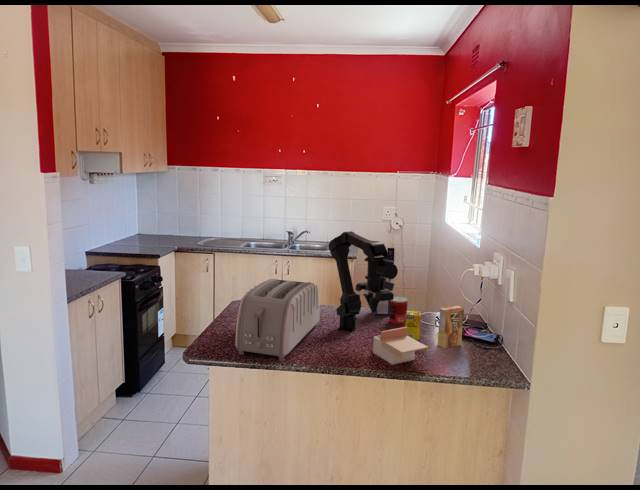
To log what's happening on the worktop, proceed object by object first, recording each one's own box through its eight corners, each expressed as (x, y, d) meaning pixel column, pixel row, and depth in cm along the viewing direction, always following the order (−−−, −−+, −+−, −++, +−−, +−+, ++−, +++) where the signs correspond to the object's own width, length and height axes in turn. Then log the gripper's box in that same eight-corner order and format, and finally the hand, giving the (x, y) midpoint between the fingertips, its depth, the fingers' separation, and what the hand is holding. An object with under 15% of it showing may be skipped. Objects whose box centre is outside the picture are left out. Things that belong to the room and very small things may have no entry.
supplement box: (419, 341, 191) (421, 315, 189) (404, 340, 192) (405, 314, 190) (419, 336, 196) (421, 311, 194) (404, 335, 198) (406, 310, 196)
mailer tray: (373, 352, 179) (373, 336, 178) (394, 348, 183) (395, 332, 182) (392, 365, 168) (392, 347, 167) (414, 360, 173) (415, 343, 172)
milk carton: (373, 311, 229) (374, 270, 225) (387, 311, 229) (389, 271, 225) (375, 315, 222) (376, 274, 218) (389, 316, 222) (391, 274, 218)
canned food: (408, 321, 215) (410, 298, 213) (402, 326, 208) (403, 302, 206) (393, 318, 219) (394, 295, 217) (386, 323, 212) (387, 299, 210)
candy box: (454, 341, 191) (456, 305, 189) (461, 345, 188) (464, 308, 185) (436, 345, 188) (439, 307, 185) (444, 348, 184) (446, 311, 181)
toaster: (228, 358, 172) (227, 298, 168) (276, 319, 214) (276, 271, 210) (283, 366, 166) (283, 305, 162) (321, 325, 208) (322, 275, 204)
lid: (379, 345, 173) (380, 331, 172) (404, 340, 178) (405, 326, 177) (401, 358, 162) (402, 343, 161) (427, 353, 167) (428, 338, 166)
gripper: (405, 277, 181) (404, 316, 184) (378, 267, 197) (377, 303, 200) (381, 279, 176) (380, 320, 178) (355, 270, 192) (354, 307, 195)
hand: (373, 312), depth 188 cm, fingers closed
